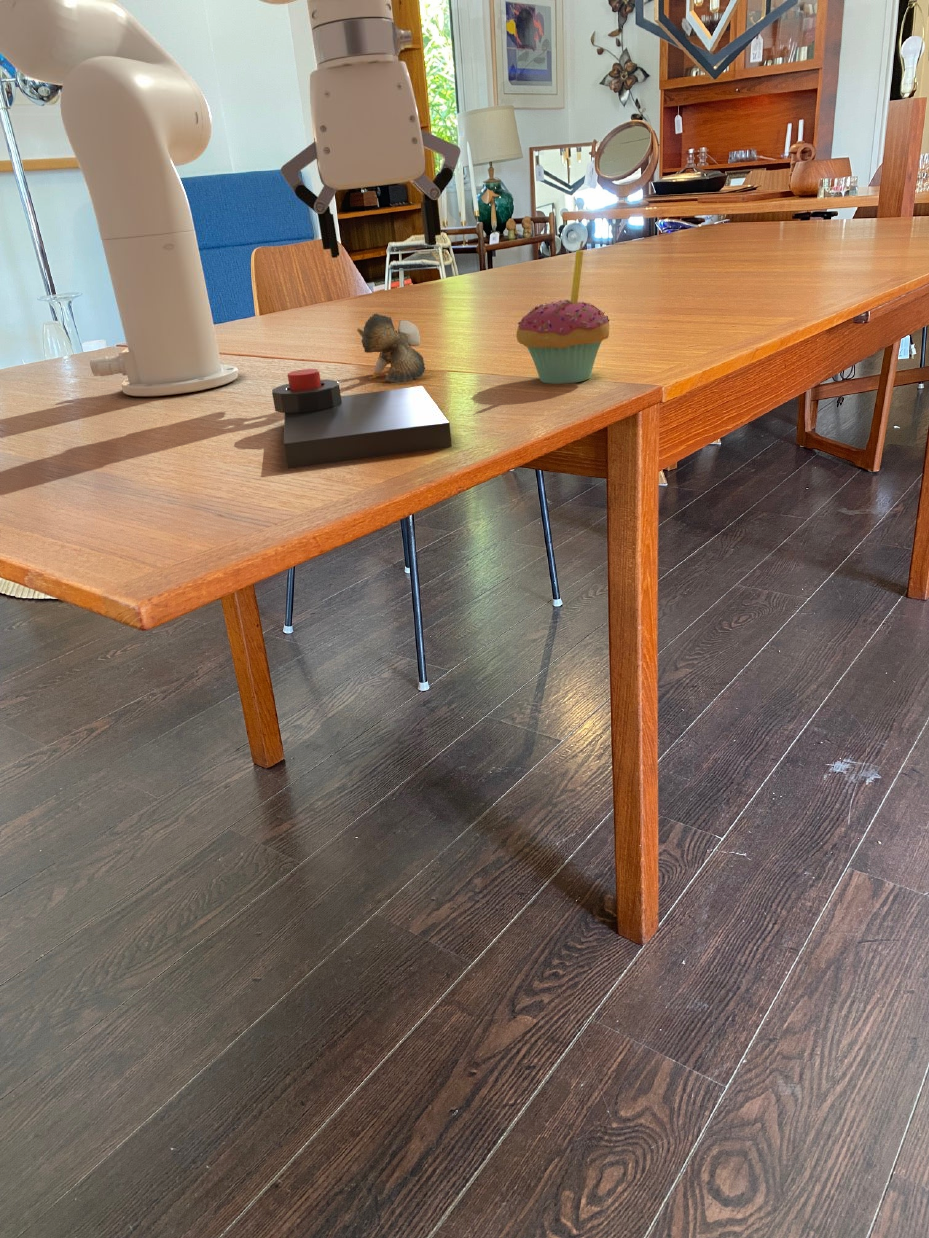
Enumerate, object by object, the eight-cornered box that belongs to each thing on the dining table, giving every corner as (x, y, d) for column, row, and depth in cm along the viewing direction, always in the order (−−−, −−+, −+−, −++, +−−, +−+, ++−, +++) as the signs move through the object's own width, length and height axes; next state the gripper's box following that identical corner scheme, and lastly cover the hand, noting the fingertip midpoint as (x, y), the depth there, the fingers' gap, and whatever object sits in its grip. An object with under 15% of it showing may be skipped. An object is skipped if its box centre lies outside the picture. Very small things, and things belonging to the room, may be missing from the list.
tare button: (290, 396, 74) (287, 376, 73) (290, 390, 76) (287, 371, 75) (322, 392, 74) (319, 372, 73) (321, 386, 76) (318, 367, 76)
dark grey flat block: (277, 471, 65) (268, 422, 63) (279, 425, 79) (272, 384, 77) (452, 448, 66) (447, 400, 65) (424, 407, 80) (420, 366, 79)
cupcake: (608, 367, 89) (605, 235, 84) (612, 385, 81) (610, 241, 76) (521, 374, 90) (513, 244, 85) (517, 392, 82) (508, 250, 77)
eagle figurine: (342, 364, 98) (346, 360, 89) (369, 302, 97) (376, 292, 88) (405, 396, 100) (416, 395, 91) (432, 335, 99) (446, 329, 90)
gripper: (442, 48, 87) (462, 239, 94) (262, 66, 85) (296, 260, 93) (455, 34, 80) (475, 241, 88) (259, 53, 79) (296, 263, 86)
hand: (383, 250), depth 90 cm, fingers open, 9 cm apart
